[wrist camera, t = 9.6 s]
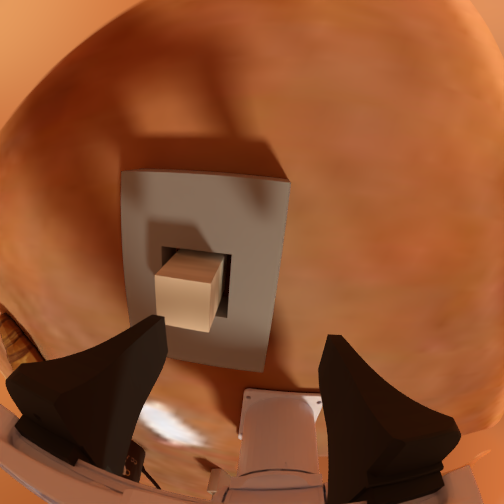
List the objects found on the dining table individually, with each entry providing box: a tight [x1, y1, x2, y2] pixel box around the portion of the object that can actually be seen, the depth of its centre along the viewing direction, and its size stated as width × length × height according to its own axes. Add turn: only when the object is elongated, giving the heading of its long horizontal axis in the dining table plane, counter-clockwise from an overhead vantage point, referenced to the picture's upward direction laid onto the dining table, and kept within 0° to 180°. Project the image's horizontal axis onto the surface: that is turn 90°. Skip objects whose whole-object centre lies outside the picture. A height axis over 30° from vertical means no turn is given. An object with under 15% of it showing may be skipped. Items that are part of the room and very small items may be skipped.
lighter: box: [207, 468, 231, 498], centre depth 29 cm, size 7×2×8 cm, turn 22°
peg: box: [155, 248, 228, 333], centre depth 18 cm, size 3×3×6 cm
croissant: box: [0, 313, 44, 371], centre depth 25 cm, size 14×7×5 cm, turn 31°
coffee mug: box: [122, 441, 161, 490], centre depth 28 cm, size 12×9×10 cm
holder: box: [121, 169, 291, 372], centre depth 19 cm, size 14×11×3 cm
